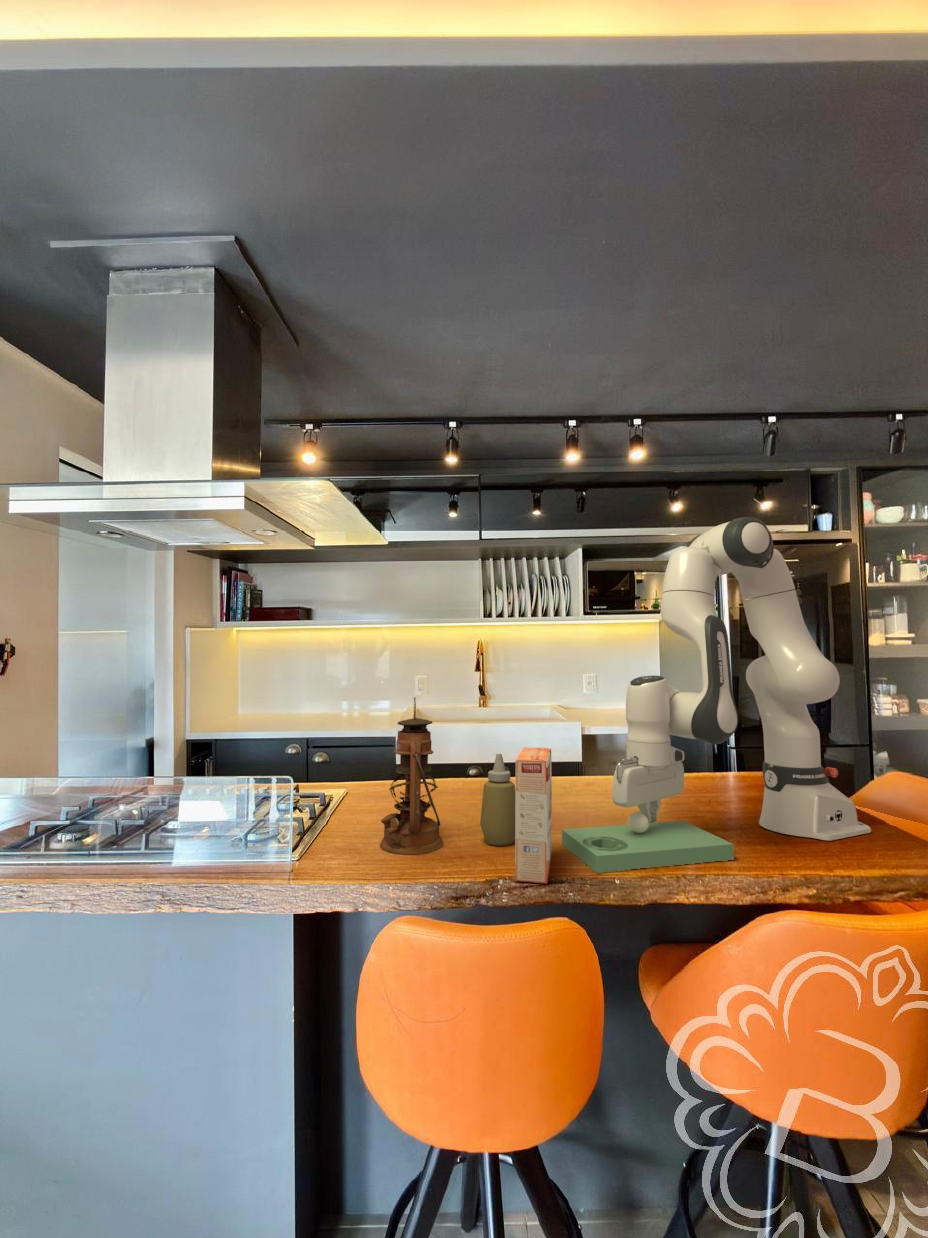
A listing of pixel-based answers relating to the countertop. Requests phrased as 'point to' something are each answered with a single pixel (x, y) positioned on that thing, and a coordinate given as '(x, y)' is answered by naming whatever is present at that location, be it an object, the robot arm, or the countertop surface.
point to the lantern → (412, 794)
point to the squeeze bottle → (498, 806)
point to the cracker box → (533, 815)
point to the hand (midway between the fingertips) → (649, 822)
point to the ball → (638, 822)
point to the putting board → (645, 846)
